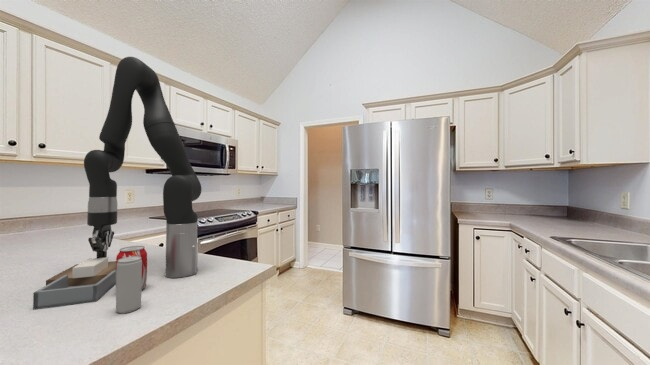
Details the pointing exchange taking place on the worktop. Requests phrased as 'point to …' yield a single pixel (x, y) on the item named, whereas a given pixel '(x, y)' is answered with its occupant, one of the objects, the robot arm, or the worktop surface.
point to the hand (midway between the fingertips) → (101, 262)
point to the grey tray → (71, 292)
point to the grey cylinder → (128, 284)
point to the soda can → (133, 252)
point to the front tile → (87, 269)
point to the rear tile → (104, 261)
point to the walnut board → (84, 280)
